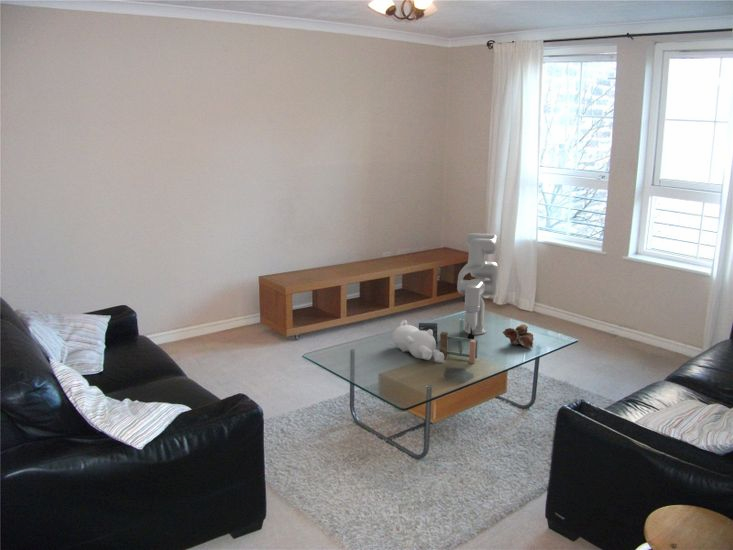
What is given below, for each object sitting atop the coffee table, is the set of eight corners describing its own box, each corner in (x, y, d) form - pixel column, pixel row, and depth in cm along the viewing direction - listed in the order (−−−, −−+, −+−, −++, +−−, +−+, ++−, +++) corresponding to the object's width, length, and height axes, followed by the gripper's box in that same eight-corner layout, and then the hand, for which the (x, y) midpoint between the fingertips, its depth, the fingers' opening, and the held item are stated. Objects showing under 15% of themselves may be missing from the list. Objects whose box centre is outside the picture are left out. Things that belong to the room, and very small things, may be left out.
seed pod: (495, 329, 372) (513, 329, 357) (518, 318, 379) (537, 317, 364) (503, 353, 373) (521, 354, 358) (526, 341, 380) (545, 342, 365)
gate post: (441, 356, 353) (442, 331, 349) (446, 357, 352) (447, 332, 348) (439, 358, 350) (440, 333, 347) (445, 359, 349) (445, 334, 345)
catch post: (470, 361, 346) (471, 339, 343) (474, 362, 345) (475, 340, 342) (469, 363, 344) (469, 341, 341) (473, 363, 343) (474, 342, 340)
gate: (442, 354, 353) (443, 335, 350) (444, 353, 355) (444, 334, 352) (476, 359, 346) (477, 339, 343) (477, 358, 348) (478, 338, 345)
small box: (437, 340, 377) (437, 322, 374) (437, 344, 371) (437, 326, 368) (418, 339, 378) (418, 322, 375) (418, 343, 372) (418, 326, 369)
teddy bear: (416, 367, 336) (379, 340, 364) (440, 373, 346) (403, 346, 374) (431, 334, 334) (393, 309, 362) (455, 341, 344) (417, 316, 372)
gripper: (468, 303, 352) (466, 335, 357) (461, 311, 338) (460, 345, 343) (482, 304, 349) (480, 337, 354) (476, 313, 336) (474, 347, 341)
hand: (470, 341), depth 349 cm, fingers closed
